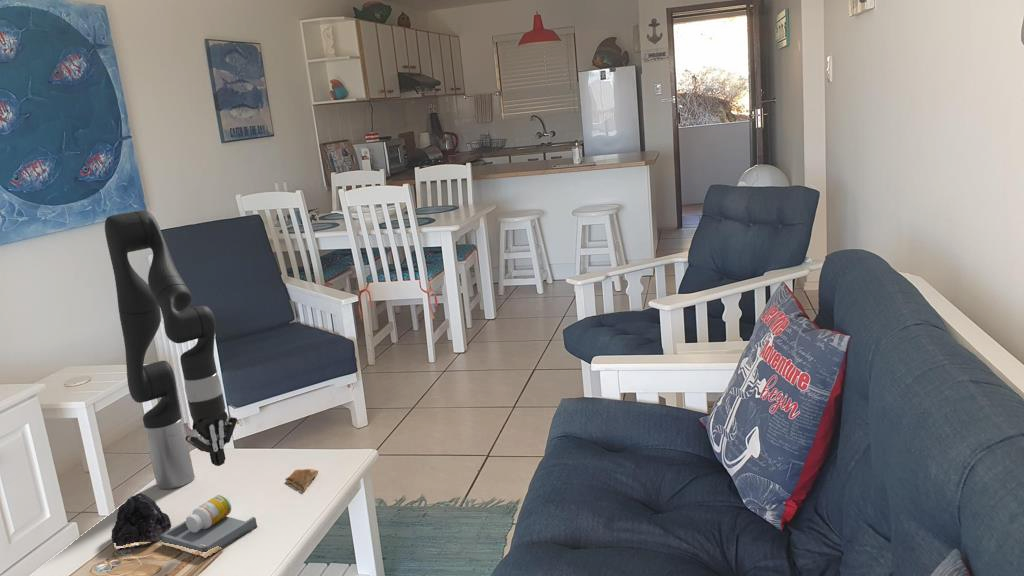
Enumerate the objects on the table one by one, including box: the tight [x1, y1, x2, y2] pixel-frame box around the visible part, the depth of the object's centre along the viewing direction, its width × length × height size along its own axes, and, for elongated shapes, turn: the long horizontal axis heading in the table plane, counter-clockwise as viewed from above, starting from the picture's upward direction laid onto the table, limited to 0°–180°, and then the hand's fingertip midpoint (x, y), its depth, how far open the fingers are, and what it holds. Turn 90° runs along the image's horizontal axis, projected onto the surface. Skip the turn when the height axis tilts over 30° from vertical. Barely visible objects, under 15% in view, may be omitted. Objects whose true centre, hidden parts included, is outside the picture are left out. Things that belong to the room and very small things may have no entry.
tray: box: [160, 515, 258, 552], centre depth 180 cm, size 16×14×2 cm
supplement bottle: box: [185, 494, 232, 532], centre depth 184 cm, size 5×5×10 cm
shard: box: [285, 468, 319, 492], centre depth 202 cm, size 11×8×2 cm
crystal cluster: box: [110, 492, 172, 546], centre depth 183 cm, size 13×14×10 cm
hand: (219, 464), depth 182 cm, fingers closed
